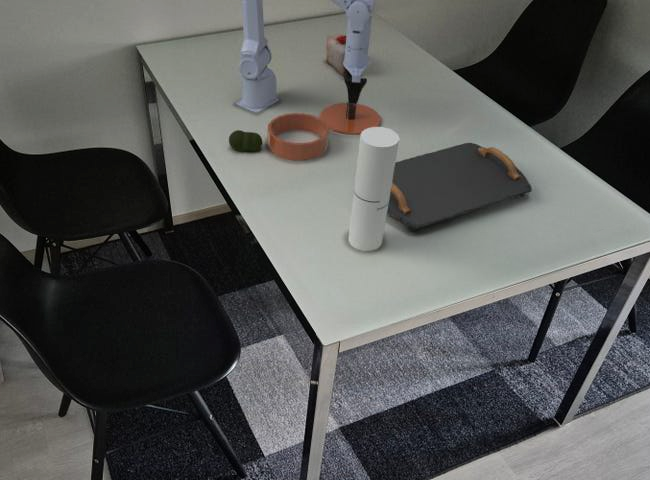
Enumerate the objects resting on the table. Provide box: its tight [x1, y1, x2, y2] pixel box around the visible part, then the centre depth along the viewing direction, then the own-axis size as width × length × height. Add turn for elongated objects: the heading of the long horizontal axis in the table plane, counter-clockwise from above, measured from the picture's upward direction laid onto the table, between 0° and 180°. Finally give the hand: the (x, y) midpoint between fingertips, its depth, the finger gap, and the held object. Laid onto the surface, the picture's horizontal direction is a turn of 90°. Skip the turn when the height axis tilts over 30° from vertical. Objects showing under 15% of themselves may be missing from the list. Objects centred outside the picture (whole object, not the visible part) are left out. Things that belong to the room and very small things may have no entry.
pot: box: [267, 112, 330, 162], centre depth 160 cm, size 15×15×5 cm
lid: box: [319, 101, 381, 136], centre depth 170 cm, size 16×16×5 cm
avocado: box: [228, 129, 263, 152], centre depth 158 cm, size 8×5×5 cm, turn 88°
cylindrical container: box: [348, 126, 400, 252], centre depth 127 cm, size 7×7×25 cm
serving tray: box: [387, 142, 533, 233], centre depth 147 cm, size 39×23×6 cm, turn 117°
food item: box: [325, 33, 347, 78], centre depth 192 cm, size 14×8×10 cm, turn 23°
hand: (352, 95), depth 167 cm, fingers open, 7 cm apart
